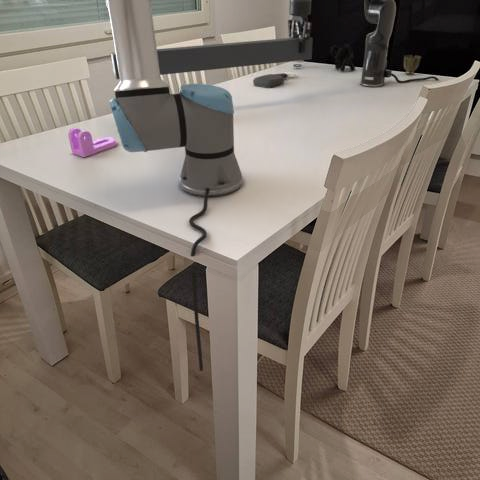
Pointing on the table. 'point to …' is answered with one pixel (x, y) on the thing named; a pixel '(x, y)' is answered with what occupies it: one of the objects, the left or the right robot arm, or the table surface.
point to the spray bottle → (272, 79)
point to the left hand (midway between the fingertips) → (129, 74)
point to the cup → (411, 63)
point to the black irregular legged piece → (343, 57)
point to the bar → (227, 55)
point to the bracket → (88, 143)
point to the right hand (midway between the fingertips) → (298, 51)
